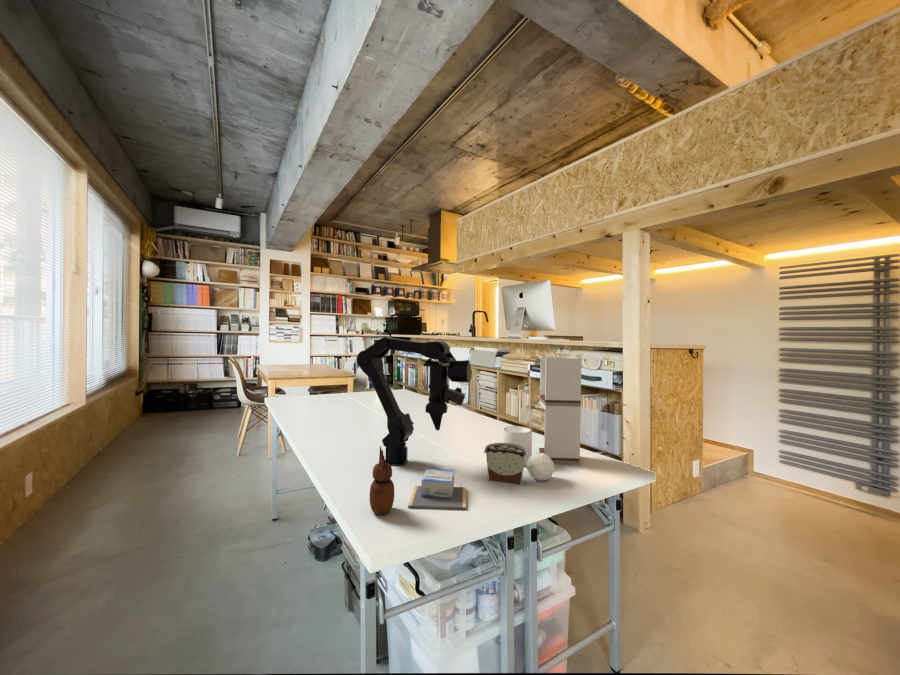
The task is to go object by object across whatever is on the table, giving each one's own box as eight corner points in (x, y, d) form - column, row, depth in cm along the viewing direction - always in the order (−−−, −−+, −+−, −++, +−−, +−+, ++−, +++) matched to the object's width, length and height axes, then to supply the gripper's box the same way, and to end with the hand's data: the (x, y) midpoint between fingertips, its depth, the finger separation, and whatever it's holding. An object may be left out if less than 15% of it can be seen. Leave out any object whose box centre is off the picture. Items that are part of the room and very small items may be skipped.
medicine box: (454, 469, 104) (452, 481, 95) (454, 485, 104) (451, 499, 95) (426, 468, 104) (421, 480, 96) (425, 484, 104) (421, 497, 96)
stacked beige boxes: (571, 454, 134) (572, 356, 134) (579, 464, 124) (581, 358, 123) (539, 453, 135) (540, 356, 135) (544, 463, 124) (546, 358, 124)
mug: (493, 453, 134) (493, 424, 134) (520, 452, 136) (520, 422, 136) (507, 467, 121) (507, 434, 120) (536, 465, 123) (537, 432, 123)
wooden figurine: (371, 505, 92) (372, 444, 92) (395, 504, 93) (395, 444, 93) (367, 518, 86) (368, 453, 86) (393, 517, 86) (394, 452, 86)
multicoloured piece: (529, 478, 111) (529, 445, 111) (526, 486, 105) (526, 450, 105) (488, 473, 115) (488, 440, 115) (483, 480, 109) (484, 446, 109)
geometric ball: (546, 488, 111) (564, 468, 110) (532, 485, 106) (550, 464, 104) (531, 468, 117) (547, 449, 115) (517, 464, 112) (534, 445, 110)
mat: (408, 508, 91) (408, 505, 91) (414, 487, 103) (414, 485, 103) (465, 509, 90) (465, 507, 90) (465, 489, 102) (465, 487, 102)
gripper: (463, 385, 109) (463, 438, 109) (463, 377, 128) (463, 423, 128) (425, 384, 109) (425, 437, 109) (431, 377, 128) (430, 422, 128)
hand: (437, 430), depth 119 cm, fingers closed
